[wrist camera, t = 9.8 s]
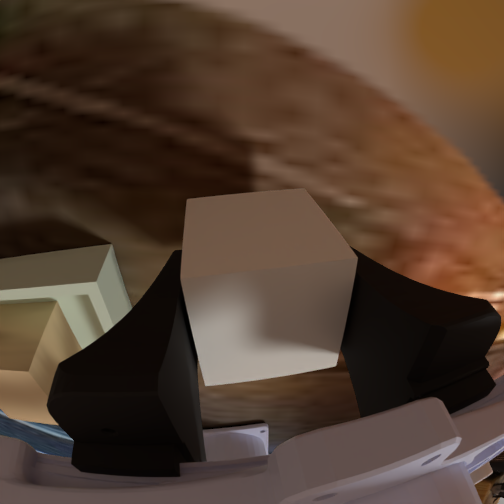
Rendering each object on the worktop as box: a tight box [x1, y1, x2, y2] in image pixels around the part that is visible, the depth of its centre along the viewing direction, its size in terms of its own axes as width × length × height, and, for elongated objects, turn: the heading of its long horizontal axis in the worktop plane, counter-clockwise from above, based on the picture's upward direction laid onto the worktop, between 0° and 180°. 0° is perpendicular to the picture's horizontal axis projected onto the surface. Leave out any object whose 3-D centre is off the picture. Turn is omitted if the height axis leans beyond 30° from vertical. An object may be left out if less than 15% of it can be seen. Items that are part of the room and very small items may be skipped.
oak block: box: [0, 301, 82, 425], centre depth 14 cm, size 5×5×5 cm
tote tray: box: [0, 244, 132, 349], centre depth 15 cm, size 11×17×3 cm, turn 92°
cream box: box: [180, 188, 358, 386], centre depth 11 cm, size 4×4×5 cm
